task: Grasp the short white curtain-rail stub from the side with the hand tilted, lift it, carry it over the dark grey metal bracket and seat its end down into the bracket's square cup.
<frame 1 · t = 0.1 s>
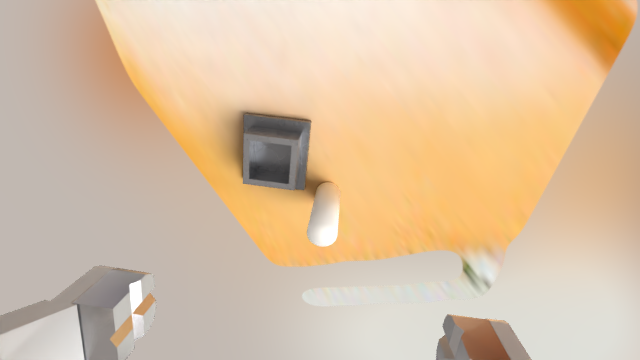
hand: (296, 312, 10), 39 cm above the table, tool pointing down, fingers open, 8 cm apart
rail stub: (328, 193, 51), on the table
cup bracket: (276, 151, 49), on the table
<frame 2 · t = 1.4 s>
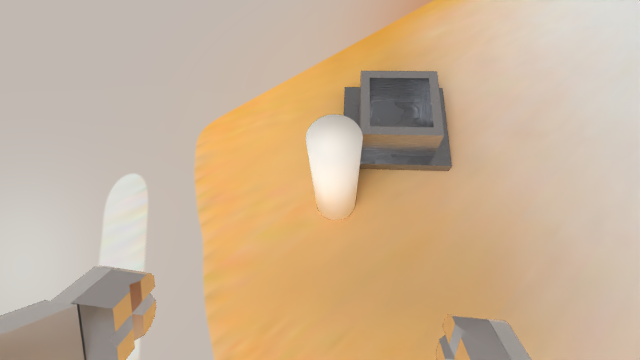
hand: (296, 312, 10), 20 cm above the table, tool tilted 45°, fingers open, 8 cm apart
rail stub: (335, 201, 32), on the table
cup bracket: (393, 129, 35), on the table
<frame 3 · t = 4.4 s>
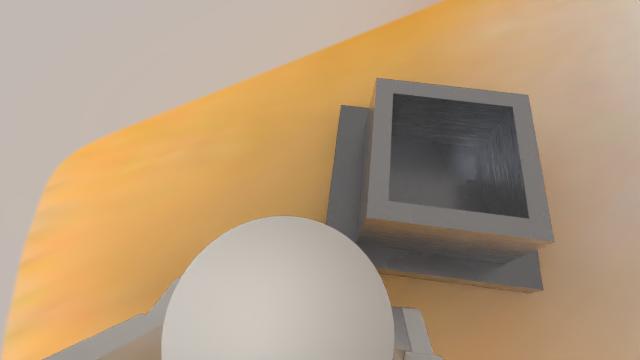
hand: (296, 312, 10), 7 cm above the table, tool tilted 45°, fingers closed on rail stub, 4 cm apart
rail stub: (299, 343, 15), on the table, touching gripper
cup bracket: (424, 194, 19), on the table
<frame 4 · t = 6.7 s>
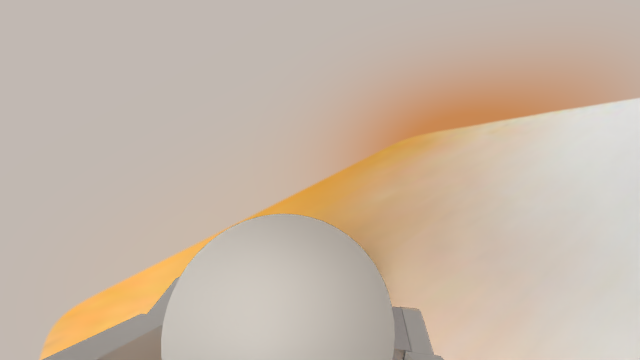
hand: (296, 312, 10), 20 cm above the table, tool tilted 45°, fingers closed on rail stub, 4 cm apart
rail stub: (299, 342, 15), point 13 cm above the table, touching gripper
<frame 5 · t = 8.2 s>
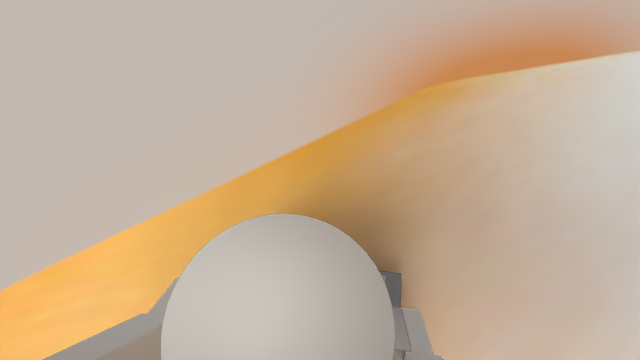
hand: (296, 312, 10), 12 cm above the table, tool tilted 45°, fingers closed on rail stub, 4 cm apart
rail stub: (299, 342, 15), point 5 cm above the table, touching gripper
cup bracket: (307, 345, 20), on the table
when the fingers open (9 cm above the table, at t = 9.2 s): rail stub drops 1 cm, resting on cup bracket.
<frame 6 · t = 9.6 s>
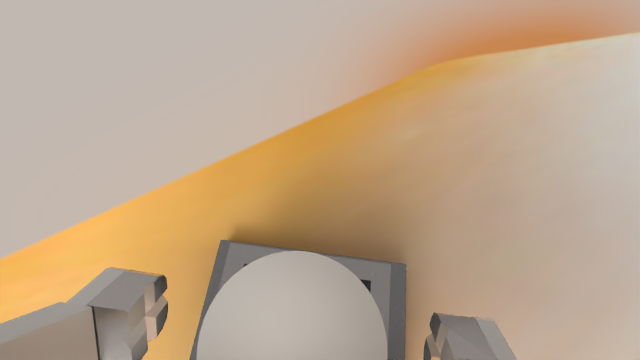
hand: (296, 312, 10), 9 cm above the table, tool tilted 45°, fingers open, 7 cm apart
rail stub: (300, 343, 17), point 1 cm above the table, touching cup bracket
cup bracket: (300, 344, 17), on the table
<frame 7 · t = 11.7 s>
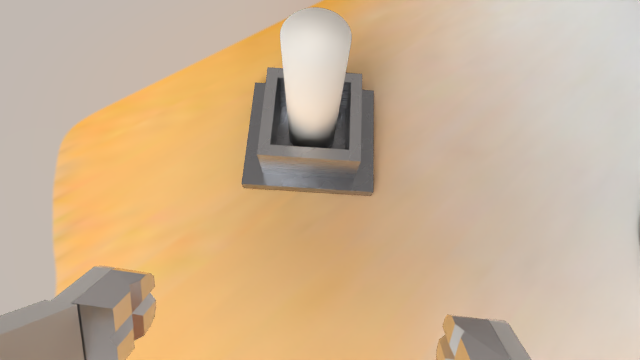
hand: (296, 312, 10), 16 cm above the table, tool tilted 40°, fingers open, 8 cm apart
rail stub: (311, 134, 28), point 1 cm above the table, touching cup bracket
cup bracket: (311, 140, 29), on the table
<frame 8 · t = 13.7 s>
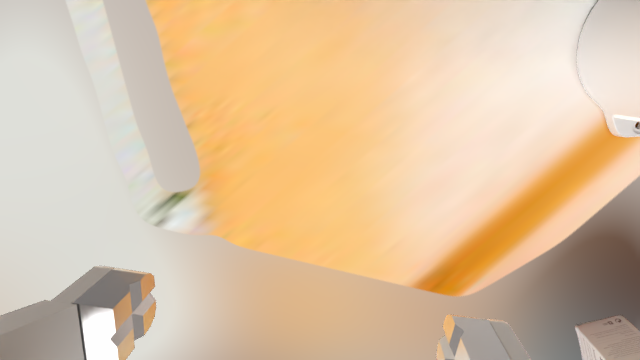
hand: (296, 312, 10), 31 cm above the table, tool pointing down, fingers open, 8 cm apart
skincare box: (601, 342, 46), on the table
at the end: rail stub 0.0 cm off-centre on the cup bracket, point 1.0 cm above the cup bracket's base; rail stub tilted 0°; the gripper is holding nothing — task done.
